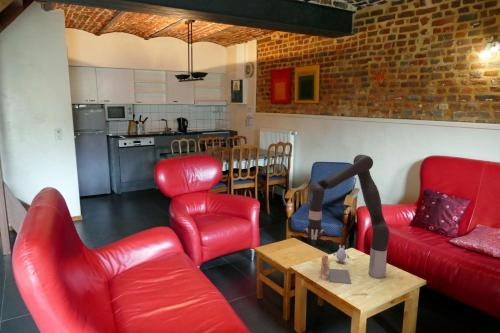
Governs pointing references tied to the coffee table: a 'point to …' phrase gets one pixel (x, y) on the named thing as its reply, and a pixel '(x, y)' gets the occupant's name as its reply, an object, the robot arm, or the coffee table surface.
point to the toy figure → (341, 254)
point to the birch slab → (325, 267)
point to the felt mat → (339, 276)
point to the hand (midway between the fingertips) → (313, 244)
